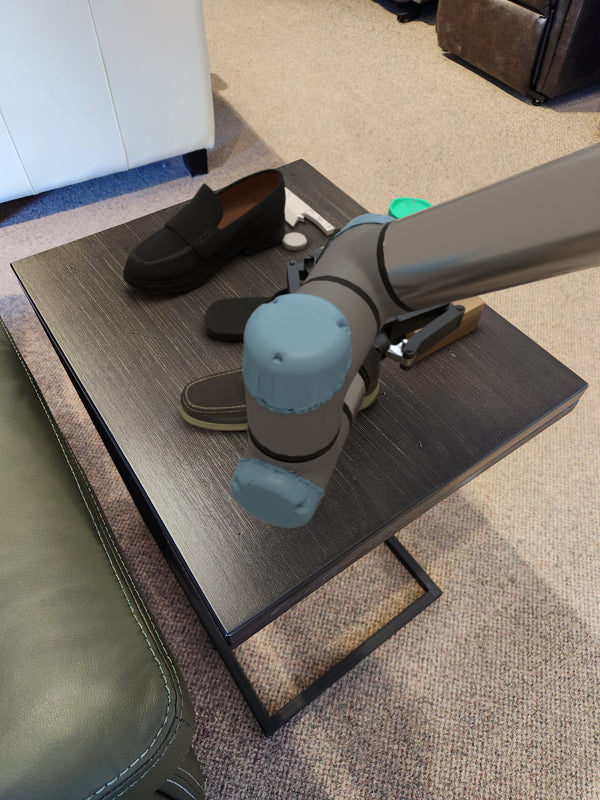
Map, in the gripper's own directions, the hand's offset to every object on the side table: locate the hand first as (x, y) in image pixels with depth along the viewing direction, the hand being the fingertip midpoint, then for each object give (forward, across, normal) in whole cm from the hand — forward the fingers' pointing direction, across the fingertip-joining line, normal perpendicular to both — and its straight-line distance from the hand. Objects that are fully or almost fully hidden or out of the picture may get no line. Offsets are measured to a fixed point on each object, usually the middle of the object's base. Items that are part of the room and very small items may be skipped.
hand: (391, 252), depth 70 cm
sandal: (-1, -12, -16) cm, 19 cm away
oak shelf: (+10, 0, -15) cm, 18 cm away
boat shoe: (-14, -8, -16) cm, 23 cm away
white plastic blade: (+24, -21, -15) cm, 35 cm away
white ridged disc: (+16, -19, -15) cm, 29 cm away
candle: (+10, 0, -11) cm, 14 cm away
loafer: (+7, -29, -15) cm, 34 cm away
